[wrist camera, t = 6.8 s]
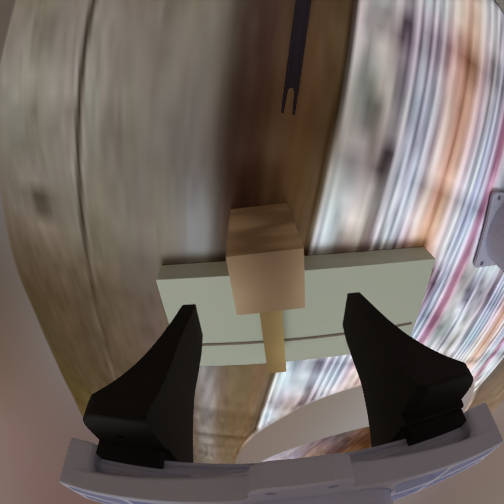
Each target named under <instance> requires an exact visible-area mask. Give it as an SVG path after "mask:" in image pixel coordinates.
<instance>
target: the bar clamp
mask: <svg viewBox="0 0 504 504" xmlns="http://www.w3.org/2000/svg"><path fill="white" fill-rule="evenodd" d="M310 4H311V0H296V5H295V13H294V20H293V27H292V35H291V43H290V50H289V58H288V65H287V72H286V80H285V87H284V94H283V102H282V110H281V113H284V108H285V102H286V96H287V91H288V89H289V88H293V89H294V92H295V93H294V102H293V112H292V115H295V109H296V103H297V96H298V90H299V83H300V76H301V69H302V62H303V55H304V48H305V41H306V34H307V27H308V19H309V12H310Z"/></svg>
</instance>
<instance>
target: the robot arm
mask: <svg viewBox="0 0 504 504" xmlns="http://www.w3.org/2000/svg"><path fill="white" fill-rule="evenodd" d="M491 265H497V266H498V267H499V268H500V269H501V270H502V271H503V272H504V192H499V191H494V192H492V194H491V196H490V201H489V206H488V211H487V215H486V220H485V224H484V228H483V232H482V235H481V239H480V243H479V246H478V250H477V253H476V256H475V260H474V266H475V267H476V268H478V267H484V266H491ZM342 325H343V329H344V334H345V338H346V342H347V345H348V348H349V350H350V353H351V356H352V359H353V361H354V364H355V367H356V369H357V372H358V375H359V378H360V381H361V384H362V388H363V393H364V398H365V402H366V408H367V413H368V420H369V427H370V434H371V444H372V447H371V448H367V449H362V450H358V451H353V452H348V453H343V454H342V453H337V454H327V455H320V456H313V457H305V458H297V459H287V460H275V461H267V462H260V463H252V464H207V463H193V409H194V395H195V388H196V383H197V377H198V372H199V366H200V361H201V355H202V341H203V334H202V329H201V325H200V321H199V317H198V313H197V308H196V304H188V305H182V306H181V308H180V309H179V311H178V312H177V314H176V316H175V317H174V318H173V320H172V321H171V323H170V324H169V326H168V327H167V328H166V330H165V331H164V333H163V334H162V335H161V337H160V338H159V339H158V340H157V341H156V343H155V344H154V345H153V346H152V348H151V349H150V350H149V351H148V352H147V353H146V354H145V355H144V356H143V357H142V358H141V359H140V360H139V361H138V362H137V363H136V364H135V365H134V366H133V367H132V368H130V369H129V370H128V371H127V372H126V373H124V374H123V375H122V376H121V377H119V378H118V379H116V380H115V381H113V382H112V383H111V384H109V385H107V386H106V387H104V388H102V389H101V390H99V391H97V392H95V393H94V394H92V395H91V397H90V400H89V402H88V405H87V408H86V411H85V414H84V417H83V421H84V424H85V425H86V426H87V428H88V429H89V430H91V432H92V433H93V434H94V435H95V436H96V437H97V438H98V439H99V444H98V445H96V444H94V443H91V442H87V441H83V440H79V439H75V438H72V439H71V441H70V444H69V448H68V451H67V454H66V458H65V462H64V465H63V468H62V472H61V476H60V480H59V482H60V483H61V484H63V485H64V486H66V487H68V488H69V489H71V490H73V491H75V492H76V493H78V494H81V495H82V496H84V497H85V498H87V499H90V500H94V501H97V502H100V503H104V504H393V501H394V500H397V499H400V498H402V497H405V496H408V495H410V494H413V493H415V492H418V491H420V490H423V489H424V488H427V487H429V486H432V485H434V484H436V483H438V482H441V481H443V480H445V479H447V478H449V477H451V476H453V475H455V474H457V473H459V472H461V471H464V470H466V469H468V468H469V467H471V466H473V465H475V464H477V463H478V462H480V461H481V460H482V459H484V458H485V457H486V456H487V455H488V454H490V453H491V452H492V451H493V450H494V449H496V448H497V447H498V446H499V445H500V444H501V443H503V439H502V436H501V434H500V432H499V430H498V427H497V425H496V423H495V421H494V419H493V417H492V415H491V412H490V410H489V408H488V406H487V404H486V403H482V404H480V405H478V406H475V407H473V408H471V409H469V410H467V411H466V412H464V413H463V411H462V409H461V408H462V407H463V402H462V400H461V399H462V398H463V396H464V395H465V394H466V393H467V391H468V390H469V388H470V387H471V385H472V382H473V376H472V375H471V373H470V371H469V369H468V367H467V366H466V364H465V363H464V362H461V361H458V360H455V359H452V358H449V357H447V356H445V355H442V354H440V353H438V352H436V351H434V350H432V349H430V348H428V347H426V346H425V345H423V344H421V343H420V342H418V341H416V340H415V339H413V338H412V337H410V336H409V335H407V334H406V333H405V332H403V331H402V330H401V329H399V328H398V327H397V326H396V325H394V324H393V323H392V322H391V321H390V320H388V319H387V318H386V317H385V316H384V315H383V314H382V313H381V312H380V311H379V310H377V309H376V308H375V307H374V306H373V305H372V304H371V303H370V302H369V301H368V300H367V299H366V298H365V297H364V296H363V295H362V294H361V293H360V292H355V293H347V300H346V306H345V312H344V318H343V324H342Z"/></svg>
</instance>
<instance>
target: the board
mask: <svg viewBox="0 0 504 504" xmlns="http://www.w3.org/2000/svg"><path fill="white" fill-rule="evenodd" d="M434 261H435V258H434V257H433V256H432V255H431V254H430V253H429V252H428V251H427V249H426V248H425V247H415V248H402V249H389V250H376V251H363V252H350V253H336V254H323V255H309V256H304V271H305V308H299V309H291V310H282V316H283V330H284V345H285V361H297V360H307V359H316V358H324V357H332V356H339V355H346V354H351V353H350V350H349V348H348V345H347V342H346V338H345V334H344V329H343V325H342V324H343V318H344V312H345V306H346V300H347V293H355V292H360V293H361V294H362V295H363V296H364V297H365V298H366V299H367V300H368V301H369V302H370V303H371V304H372V305H373V306H374V307H375V308H376V309H377V310H379V311H380V312H381V313H382V314H383V315H384V316H385V317H386V318H387V319H388V320H390V321H391V322H392V323H393V324H394V325H396V326H397V327H398V328H399V329H401V330H402V331H403V332H405V333H406V334H407V335H409V336H411V333H412V330H413V328H414V325H415V322H416V319H417V316H418V314H419V311H420V308H421V305H422V302H423V299H424V295H425V292H426V289H427V286H428V282H429V279H430V275H431V272H432V268H433V265H434ZM156 282H157V285H158V289H159V292H160V295H161V299H162V302H163V305H164V309H165V312H166V315H167V318H168V321H169V324H170V323H171V321H172V320H173V318H174V317H175V316H176V314H177V312H178V311H179V309H180V308H181V306H182V305H188V304H196V308H197V313H198V317H199V321H200V325H201V329H202V334H203V341H202V355H201V361H200V366H217V365H243V364H260V363H266V356H265V349H264V341H263V334H262V326H261V319H260V313H255V314H245V315H237V313H236V308H235V303H234V298H233V293H232V287H231V282H230V277H229V272H228V266H227V261H222V262H207V263H192V264H176V265H162V266H161V269H160V271H159V274H158V276H157V279H156Z"/></svg>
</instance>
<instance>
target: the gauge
mask: <svg viewBox="0 0 504 504" xmlns="http://www.w3.org/2000/svg"><path fill="white" fill-rule="evenodd" d="M226 261H227V266H228V272H229V277H230V282H231V287H232V293H233V298H234V303H235V308H236V313H237V315H245V314H255V313H260V319H261V326H262V334H263V341H264V349H265V356H266V363H267V371H268V373H276V372H285V371H286V361H285V345H284V330H283V316H282V310H291V309H299V308H305V271H304V247H303V244H302V242H301V239H300V236H299V233H298V230H297V228H296V225H295V222H294V219H293V217H292V214H291V211H290V209H289V206H288V203H280V204H271V205H262V206H253V207H245V208H237V209H231V210H230V219H229V229H228V239H227V249H226Z"/></svg>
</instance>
